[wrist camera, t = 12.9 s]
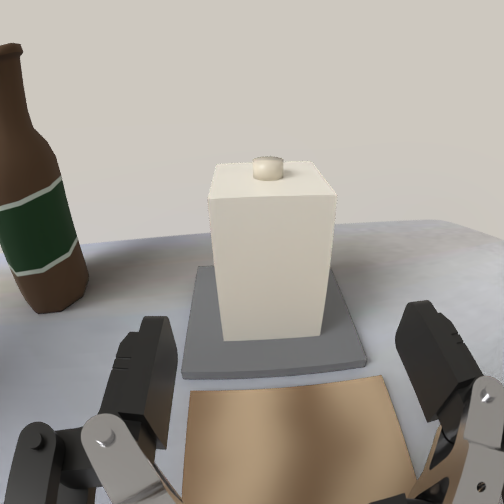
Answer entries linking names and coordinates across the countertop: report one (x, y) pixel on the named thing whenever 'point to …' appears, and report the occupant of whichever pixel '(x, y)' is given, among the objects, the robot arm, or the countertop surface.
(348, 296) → the countertop surface
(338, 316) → the slate coaster
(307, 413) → the cork mat
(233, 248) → the knobbed cream block
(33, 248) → the beer bottle
